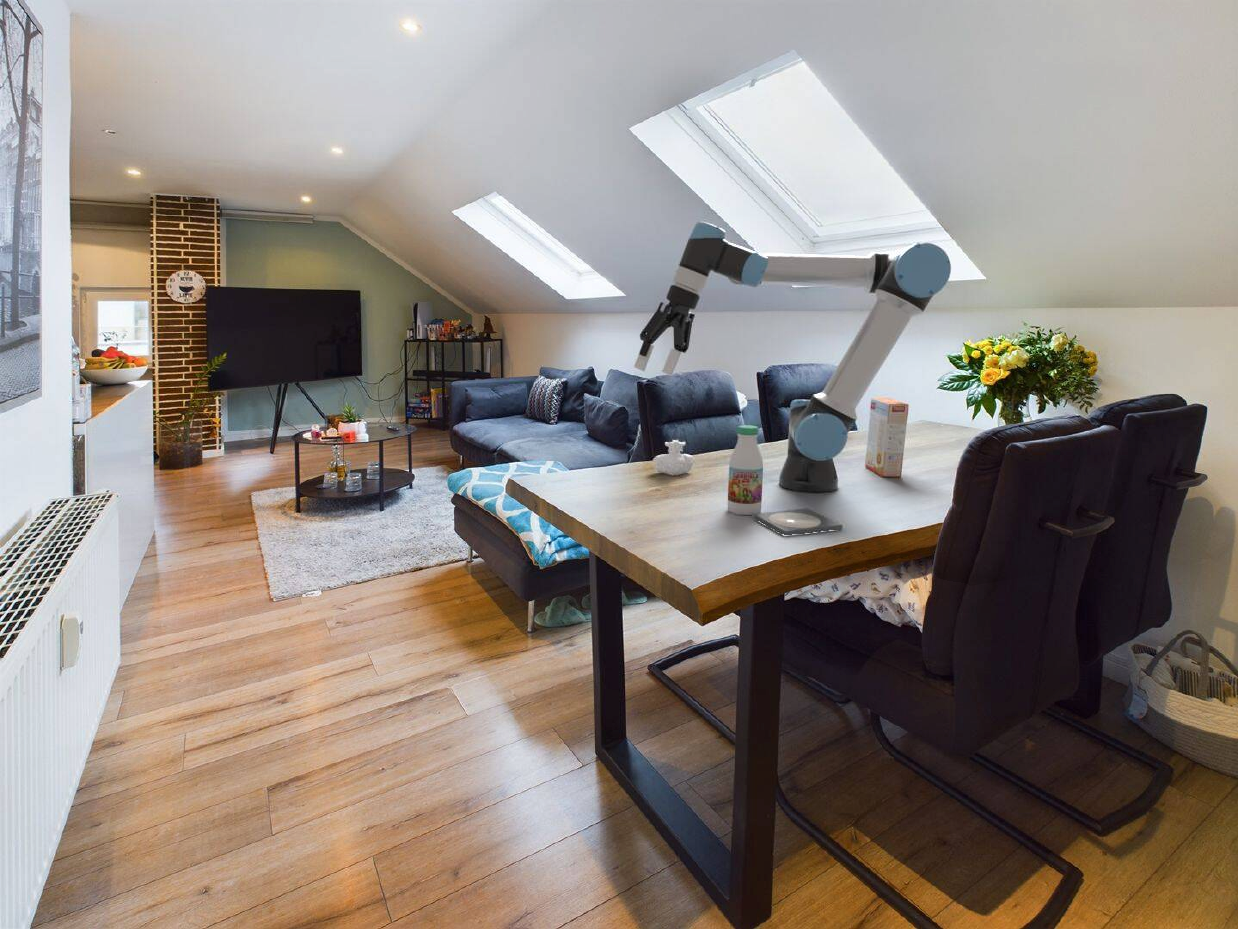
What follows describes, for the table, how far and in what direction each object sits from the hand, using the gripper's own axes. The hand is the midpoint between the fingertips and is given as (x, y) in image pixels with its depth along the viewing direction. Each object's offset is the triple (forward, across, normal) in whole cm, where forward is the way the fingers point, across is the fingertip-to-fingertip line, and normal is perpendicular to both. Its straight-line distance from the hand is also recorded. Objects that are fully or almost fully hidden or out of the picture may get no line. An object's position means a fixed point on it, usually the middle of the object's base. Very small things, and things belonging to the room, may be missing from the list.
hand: (653, 371), depth 168 cm
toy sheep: (+27, -25, +5) cm, 37 cm away
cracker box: (+6, -61, +49) cm, 78 cm away
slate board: (+16, +1, +48) cm, 51 cm away
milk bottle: (+20, -2, +36) cm, 41 cm away
